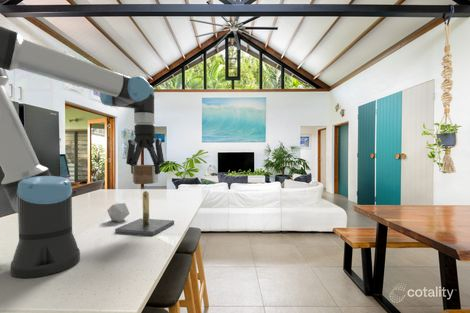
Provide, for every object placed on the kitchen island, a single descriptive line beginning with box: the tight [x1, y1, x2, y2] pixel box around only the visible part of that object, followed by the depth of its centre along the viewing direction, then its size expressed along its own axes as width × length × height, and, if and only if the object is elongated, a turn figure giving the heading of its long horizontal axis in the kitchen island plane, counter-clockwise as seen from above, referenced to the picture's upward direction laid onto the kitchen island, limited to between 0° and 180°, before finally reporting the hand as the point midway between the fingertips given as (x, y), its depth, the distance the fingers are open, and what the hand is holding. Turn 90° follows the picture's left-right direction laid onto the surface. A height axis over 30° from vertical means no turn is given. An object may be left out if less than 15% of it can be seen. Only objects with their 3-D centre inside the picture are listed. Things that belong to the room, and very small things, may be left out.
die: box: [107, 202, 130, 223], centre depth 118 cm, size 8×9×10 cm
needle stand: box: [114, 190, 175, 236], centre depth 105 cm, size 16×16×15 cm
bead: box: [133, 164, 158, 185], centre depth 105 cm, size 8×8×7 cm
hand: (145, 182), depth 105 cm, fingers closed on bead, 8 cm apart
